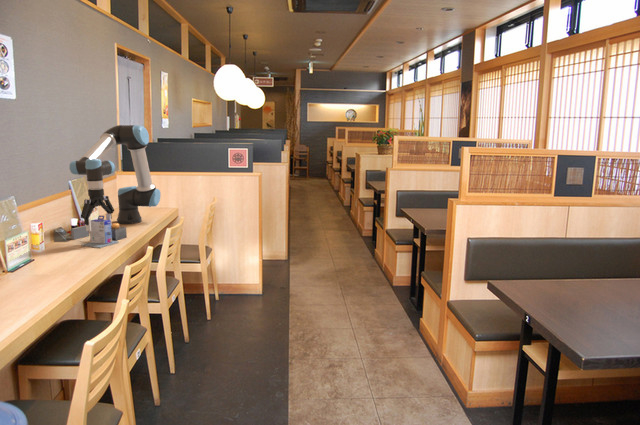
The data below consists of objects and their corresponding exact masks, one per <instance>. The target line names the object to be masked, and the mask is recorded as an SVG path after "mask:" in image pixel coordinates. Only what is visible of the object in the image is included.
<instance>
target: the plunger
mask: <svg viewBox="0 0 640 425" xmlns="http://www.w3.org/2000/svg"><path fill="white" fill-rule="evenodd" d="M111 224H112V225H111V228H113V229H117V228H119V227H120V224H119V223H117V222H114V223H113V222H112V223H111Z"/></svg>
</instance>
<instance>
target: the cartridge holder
mask: <svg viewBox="0 0 640 425" xmlns="http://www.w3.org/2000/svg"><path fill="white" fill-rule="evenodd" d="M70 234H71V240H75V241H76V240H78V239H82V238H87V237H90V231H86V225H85V224H84V225H81V226H77V227H74V228H73V227H72V228H70ZM90 241H91V238H90Z"/></svg>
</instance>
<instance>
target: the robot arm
mask: <svg viewBox="0 0 640 425" xmlns="http://www.w3.org/2000/svg"><path fill="white" fill-rule="evenodd" d="M149 142H150V136H149V132H148V129H147V128H146V127H145V126H143V125H138V124H133V125H132V124H127V125H125V124H124V125H122V124H119V125H115V126H112V127H110V128H108V129H107V130H106V131H104V132H103V133H102V134H101V135H100V136H99V139H98V140H97V141H96V142H95V143H94V145H93V146H91V147H90V149H89V150H87V152H86V153H84V155H82V157H80V159H79V160H72V161H71V162H70V163H69V170H70V173H71V174H72V175H78V176H81V175H82V176H86V182H87V194H88V196H87V197H89V198H88V199H86V198H85V199H84V202H83V207H82V210H81V214H80V219H84V220H83V221H84V226H85V225H86V231H89V232H90V231H91V218H90V217H91V215H92V213H93V212H94V209H95V208H96V207H101V208H102V210H104V211H105V218H106V219H105V220H111V221H112V217H113V216H112V215H113V213H115V209H114V206H113V205H112V202H111V201H110V198H109V196H108V195H105V190H104V181H103V180H104V178H103V176H109V175H111V174H113V173H114V172H115V169H116V165H115V164H114V162H113V161H112V160H101V159H103V157H105V155H106V154H107V153H108V152H109V150H111V149H112V148H115V147H116V146H117V145H118V146H119V145H122V146H123V145H125V146H126V148H127V150H128V151H130V155H131V156H130V157H131V159H132V164H133V170H134V173H135V178H136V182H137V186H136V185H132V186H125V187H121V188H118V189H117V201H118V213H117V217H116V223H119V225H128V224H129V225H130V224H138V223H141V222H142V221H143V218H142V216H141V214H140V211H139V207H147V208H148V207H149V208H151V207H157V206H158V205H159V204H160V201H161V197H162V196H161V190H160V189H159V188H156V185H155V184H154V183H153V182H152V175H151V171H150V168H149V162H148V156H147V153H146V148H147V146H148V144H149ZM112 224H113V223H111V225H112Z"/></svg>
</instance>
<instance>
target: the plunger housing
mask: <svg viewBox="0 0 640 425" xmlns="http://www.w3.org/2000/svg"><path fill="white" fill-rule="evenodd" d="M111 232H112V241H120V240H124V239H127V238H128V237H127V236H128V235H127V227H126V226H119V228H117V229H113V228H111Z"/></svg>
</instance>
